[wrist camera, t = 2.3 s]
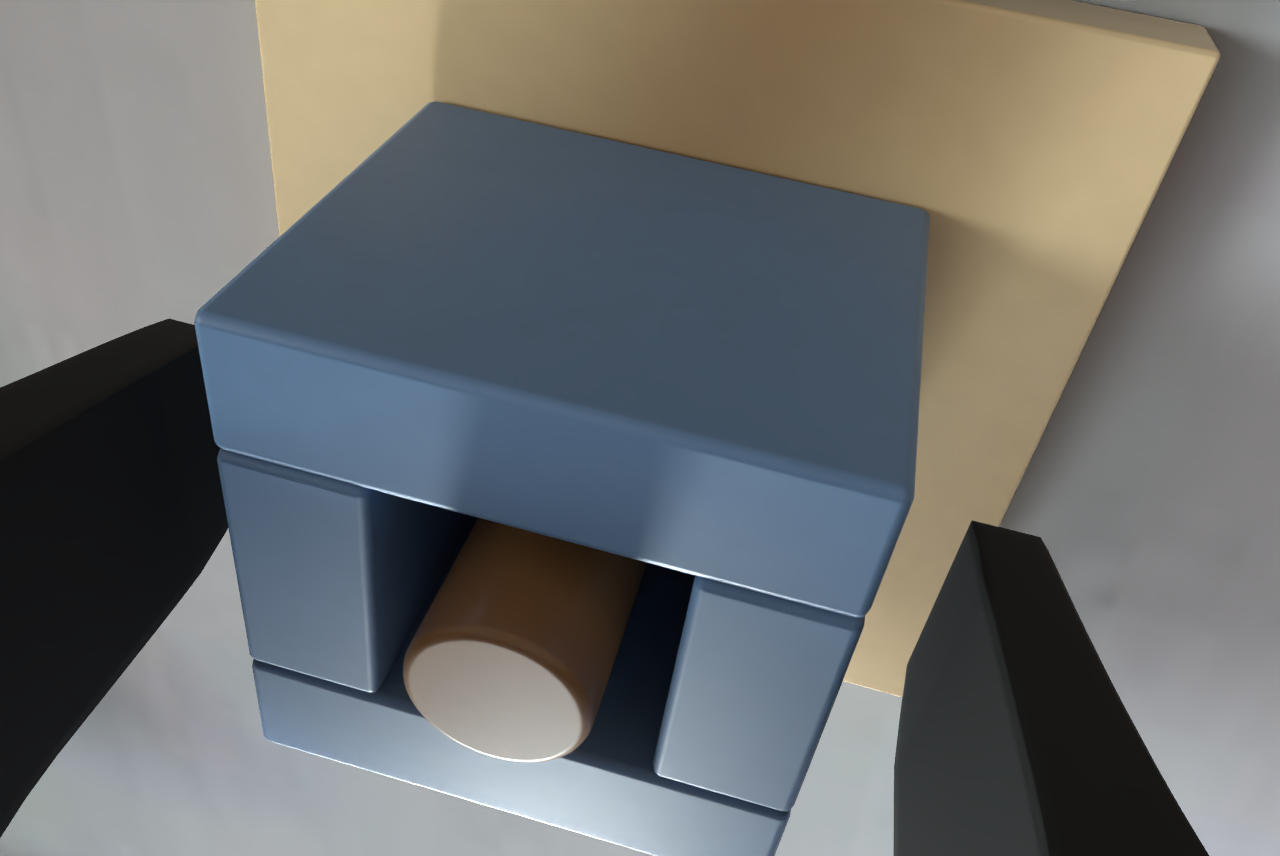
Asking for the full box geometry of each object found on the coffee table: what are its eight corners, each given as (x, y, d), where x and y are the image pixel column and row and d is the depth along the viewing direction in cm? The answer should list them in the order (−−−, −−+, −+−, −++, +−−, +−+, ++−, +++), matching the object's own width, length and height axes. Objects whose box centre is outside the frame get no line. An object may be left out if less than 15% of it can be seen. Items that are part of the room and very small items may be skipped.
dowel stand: (1206, 25, 10) (1424, 385, 5) (919, 659, 15) (900, 1095, 11) (280, -157, 10) (-229, 9, 6) (334, 501, 16) (92, 840, 12)
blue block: (932, 207, 10) (917, 495, 7) (812, 573, 14) (761, 892, 10) (429, 96, 11) (184, 313, 7) (430, 472, 14) (261, 742, 11)
